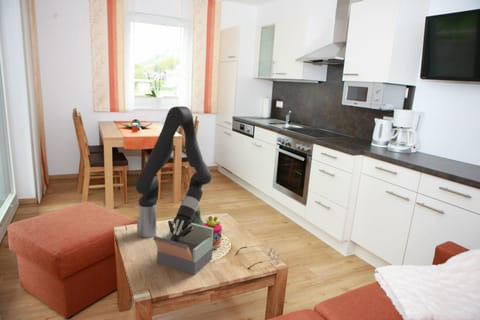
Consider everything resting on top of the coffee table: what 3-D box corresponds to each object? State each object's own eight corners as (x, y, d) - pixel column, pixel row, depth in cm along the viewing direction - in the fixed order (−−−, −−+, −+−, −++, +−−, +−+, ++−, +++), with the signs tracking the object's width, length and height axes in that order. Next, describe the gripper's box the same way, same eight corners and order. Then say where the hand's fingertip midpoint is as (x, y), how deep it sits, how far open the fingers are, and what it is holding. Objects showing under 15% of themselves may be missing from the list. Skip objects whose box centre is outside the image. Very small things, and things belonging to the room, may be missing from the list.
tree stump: (202, 221, 208) (206, 197, 201) (210, 243, 191) (215, 217, 184) (172, 222, 201) (175, 197, 194) (177, 245, 185) (182, 218, 177)
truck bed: (176, 248, 171) (177, 219, 168) (211, 259, 164) (213, 228, 160) (157, 263, 157) (157, 231, 154) (194, 275, 149) (195, 241, 146)
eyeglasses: (282, 263, 165) (283, 254, 164) (248, 271, 156) (249, 261, 155) (265, 248, 179) (266, 239, 178) (233, 254, 170) (234, 245, 169)
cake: (223, 249, 175) (225, 221, 171) (204, 251, 171) (205, 223, 167) (217, 240, 184) (218, 214, 181) (198, 242, 180) (199, 215, 177)
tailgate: (161, 249, 156) (154, 235, 150) (193, 258, 150) (187, 245, 143) (159, 251, 155) (153, 238, 149) (191, 261, 149) (186, 247, 142)
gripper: (172, 202, 155) (156, 237, 147) (198, 207, 151) (182, 244, 142) (179, 209, 161) (163, 243, 153) (203, 214, 157) (189, 250, 148)
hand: (172, 243), depth 148 cm, fingers closed
